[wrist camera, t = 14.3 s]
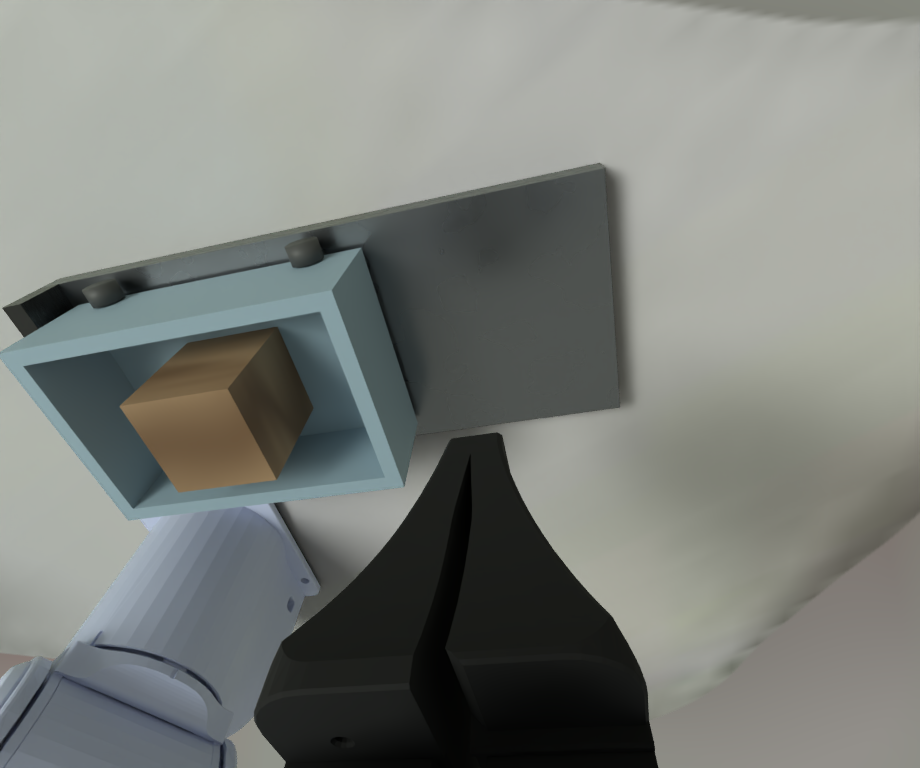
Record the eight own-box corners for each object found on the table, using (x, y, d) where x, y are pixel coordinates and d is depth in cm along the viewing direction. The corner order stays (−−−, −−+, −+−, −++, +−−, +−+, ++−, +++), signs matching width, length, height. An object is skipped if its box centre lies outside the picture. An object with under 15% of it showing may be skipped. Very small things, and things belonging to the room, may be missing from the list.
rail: (615, 394, 23) (629, 435, 21) (176, 456, 27) (143, 498, 24) (599, 163, 18) (616, 180, 16) (59, 278, 22) (2, 308, 19)
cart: (421, 435, 24) (409, 500, 20) (186, 468, 26) (137, 532, 22) (354, 227, 19) (322, 266, 15) (67, 287, 21) (-19, 334, 17)
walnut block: (313, 408, 22) (276, 480, 19) (230, 420, 23) (178, 492, 19) (277, 326, 20) (227, 388, 16) (187, 342, 21) (119, 406, 17)
